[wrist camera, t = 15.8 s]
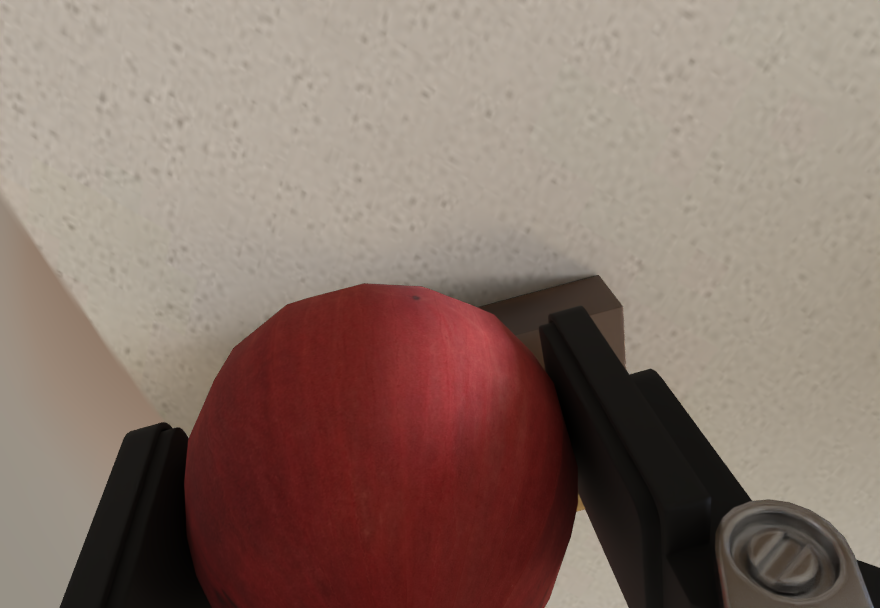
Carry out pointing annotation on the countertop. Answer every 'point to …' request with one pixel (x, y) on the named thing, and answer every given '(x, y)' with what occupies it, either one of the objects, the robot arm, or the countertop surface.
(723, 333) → the countertop surface
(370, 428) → the onion
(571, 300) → the tap deck
